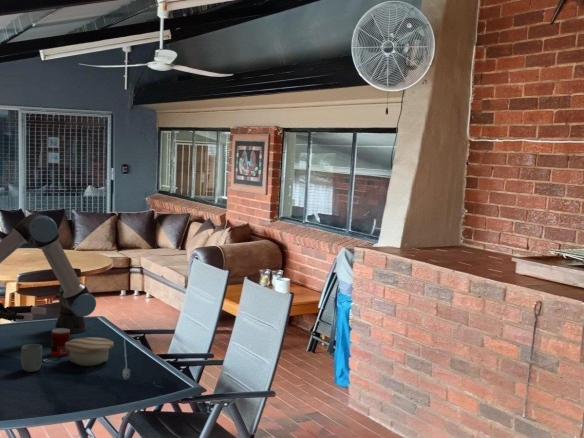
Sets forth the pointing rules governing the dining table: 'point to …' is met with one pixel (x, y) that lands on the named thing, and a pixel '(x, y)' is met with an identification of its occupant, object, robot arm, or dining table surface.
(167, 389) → the dining table surface
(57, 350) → the canned food
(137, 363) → the dining table surface
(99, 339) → the bowl cover
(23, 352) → the cup
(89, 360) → the bowl
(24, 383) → the dining table surface
